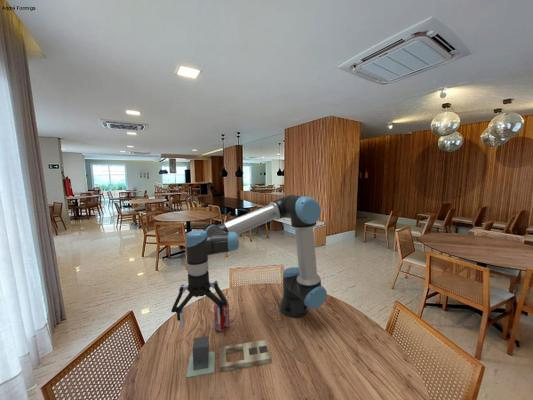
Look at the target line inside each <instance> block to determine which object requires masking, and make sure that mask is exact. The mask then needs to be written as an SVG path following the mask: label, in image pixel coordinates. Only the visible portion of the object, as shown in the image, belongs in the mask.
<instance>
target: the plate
mask: <svg viewBox="0 0 533 400" xmlns="http://www.w3.org/2000/svg"><path fill="white" fill-rule="evenodd" d="M235 352H242V355H243V356H242V357H243V359H241V360H235V361H228V362H227V354H230V353H235ZM271 363H272V356H271V352H270V348H269V345H268V341H267V339H264V340H257V341H256V340H255V341H250V342H245V343H238V344H230V345H224V346H219V373H222V372H228V371H233V370H238V369H239V370H240V369H247V368H251V367H256V366H261V365H267V364H271Z"/></svg>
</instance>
